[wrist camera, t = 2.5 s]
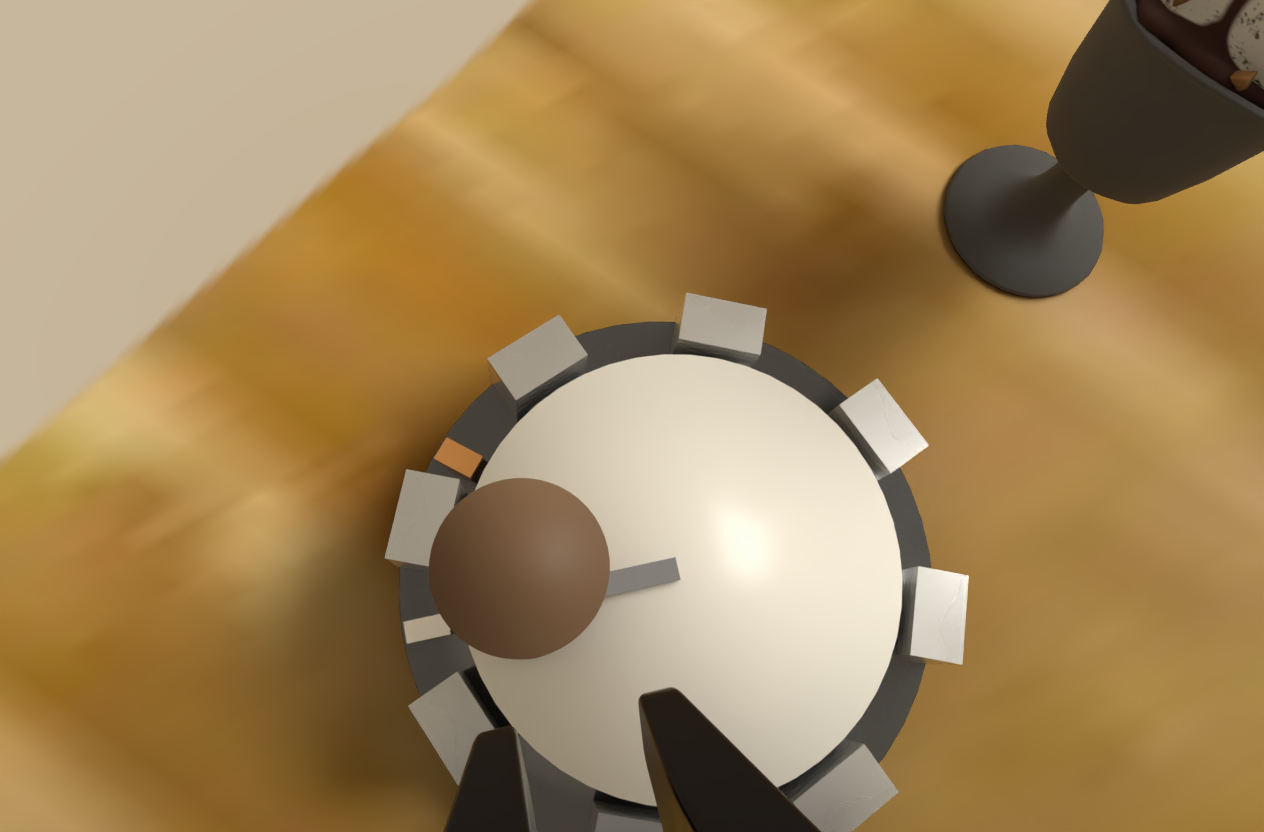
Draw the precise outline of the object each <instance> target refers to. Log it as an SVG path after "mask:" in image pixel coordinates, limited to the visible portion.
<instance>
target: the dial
mask: <svg viewBox="0 0 1264 832" xmlns="http://www.w3.org/2000/svg"><path fill="white" fill-rule="evenodd" d="M429 582H430V588H431V592H432V597H433V599H434V602H435V605H436V607H437V609H438V611H439V613H440V615H441V617H442V618H443V620H444V621H445V623H446V624H447V625H448V627H449V628H450V629H451V630H452V631H453V632H454V633H455V634H456V635H457V636H458V637H459V638H460V639H461V640H463V641H464V642H465V643H467V644H468V646H469V649H470V651H471V654H472V656H473V659H474V662H475V664H476V667H477V669H478V672H479V674H480V677H481V678H482V680H483V682H484V684H485V686H486V687H487V689H488V691H489V693H490V695H491V696H492V698H493V700H494V702H495V704H496V705H497V706H498V708H499V709H500V710H501V712H502V713H503V714H504V716H505V717H506V718H507V720H508V721H509V722H510V724H511V725H512V726H513V727H515V729H516V730H517V732H518V733H519V734H520V735H521V736H522V737H523V738H524V739H525V740H526V741H527V742H528V743H529V744H530V745H531V746H532V747H533V748H534V749H535V750H536V751H537V752H538V753H539V754H541V755H542V756H543V757H544V758H546V759H547V760H548V761H550V762H551V763H552V764H553V765H555V766H556V767H557V768H559V769H560V770H561V771H563V772H565V773H566V774H568V775H570V776H572V777H573V778H575V779H577V780H579V781H580V782H582V783H584V784H586V785H587V786H589V787H592V788H594V789H597V790H599V791H602V792H604V793H607V794H609V795H612V796H614V797H617V798H620V799H624V800H628V801H632V802H636V803H640V804H645V805H649V806H657V804H656V800H655V796H654V792H653V789H652V785H651V781H650V777H649V773H648V769H647V765H646V760H645V755H644V749H643V741H642V732H641V724H640V715H639V705H638V700H639V697H640V696H641V695H642V694H644V693H647V692H651V691H656V690H660V689H664V688H668V687H674V688H677V689H678V690H679V691H681V692H682V693H683V694H684V695H685V696H686V697H687V698H688V699H689V700H690V701H691V702H692V703H693V704H694V705H695V706H696V707H697V708H698V709H699V710H700V711H701V712H702V713H703V714H704V715H705V716H706V717H707V718H708V719H709V720H710V721H711V722H712V723H713V724H714V725H715V726H716V727H717V728H718V729H719V730H720V731H721V732H722V733H723V734H724V735H725V736H726V737H727V738H728V739H729V740H730V741H731V742H732V743H733V744H734V745H735V746H736V747H737V748H738V749H739V750H740V751H741V752H742V753H743V754H744V755H745V756H746V757H747V758H748V759H749V760H750V761H751V762H752V763H753V764H754V765H755V766H756V767H757V768H758V769H759V770H760V771H761V772H762V773H763V774H764V775H765V776H766V777H767V778H768V779H769V780H770V781H771V782H772V783H773V784H774V785H775V786H776V787H779V786H781V785H783V784H785V783H787V782H789V781H791V780H793V779H795V778H797V777H798V776H800V775H801V774H803V773H804V772H805V771H807V770H808V769H810V768H811V767H813V766H814V765H815V764H817V763H818V762H820V761H821V760H822V759H823V758H824V757H825V756H826V755H827V754H829V753H830V752H831V751H832V750H833V749H834V748H835V747H836V746H837V745H838V744H839V743H840V742H841V741H842V740H843V739H844V738H845V737H846V736H847V734H848V733H849V732H850V731H851V729H852V728H853V727H854V726H855V725H856V723H857V722H858V721H859V720H860V718H861V717H862V716H863V714H864V712H865V711H866V709H867V707H868V706H869V704H870V702H871V701H872V699H873V698H874V696H875V694H876V693H877V691H878V688H879V686H880V684H881V682H882V679H883V677H884V675H885V673H886V670H887V668H888V666H889V663H890V659H891V656H892V652H893V649H894V646H895V642H896V639H897V634H898V628H899V621H900V615H901V608H902V569H901V559H900V549H899V545H898V540H897V536H896V531H895V527H894V522H893V519H892V516H891V514H890V511H889V508H888V505H887V502H886V500H885V497H884V494H883V492H882V490H881V488H880V486H879V484H878V482H877V480H876V478H875V476H874V474H873V472H872V470H871V468H870V467H869V465H868V464H867V462H866V461H865V459H864V458H863V456H862V455H861V453H860V452H859V450H858V449H857V447H856V446H855V445H854V443H853V442H852V441H851V440H850V439H849V438H848V436H847V435H846V434H845V433H844V432H843V430H842V429H841V428H840V427H839V426H838V425H837V424H836V423H835V422H834V421H833V420H832V419H831V418H830V417H829V416H828V415H827V414H826V413H824V412H823V411H822V410H821V409H820V408H819V407H818V406H817V405H816V404H814V403H813V402H811V401H810V400H809V399H807V398H806V397H804V396H803V395H802V394H800V393H799V392H798V391H796V390H795V389H793V388H791V387H790V386H788V385H786V384H784V383H782V382H780V381H779V380H777V379H775V378H773V377H771V376H769V375H767V374H764V373H762V372H759V371H757V370H755V369H752V368H750V367H747V366H745V365H741V364H737V363H733V362H730V361H726V360H722V359H718V358H711V357H704V356H696V355H666V354H663V355H655V356H646V357H638V358H633V359H629V360H625V361H621V362H617V363H613V364H609V365H606V366H604V367H601V368H599V369H596V370H594V371H591V372H589V373H586V374H584V375H582V376H580V377H578V378H576V379H574V380H573V381H571V382H569V383H567V384H565V385H563V386H562V387H560V388H558V389H557V390H556V391H554V392H553V393H552V394H550V395H549V396H547V397H546V398H545V399H543V400H542V401H541V402H539V403H538V404H537V405H536V406H535V407H533V408H532V409H531V410H530V411H529V412H528V413H527V414H526V415H525V416H524V417H523V418H522V419H521V420H520V421H519V422H518V423H517V424H516V425H515V426H514V427H513V429H512V430H511V431H510V432H509V434H508V435H507V436H506V437H505V439H504V440H503V441H502V442H501V444H500V445H499V446H498V448H497V449H496V451H495V453H494V454H493V456H492V457H491V459H490V461H489V462H488V464H487V466H486V467H485V469H484V471H483V473H482V475H481V477H480V480H479V482H478V484H477V486H476V489H475V491H473V492H472V493H470V494H469V495H467V496H466V497H465V498H463V499H462V500H461V501H460V502H459V503H458V504H457V505H456V506H455V507H454V508H453V509H452V510H451V511H450V512H449V514H448V515H447V516H446V517H445V519H444V521H443V522H442V524H441V526H440V527H439V529H438V532H437V534H436V536H435V538H434V542H433V545H432V548H431V553H430V559H429Z"/></svg>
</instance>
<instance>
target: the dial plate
mask: <svg viewBox="0 0 1264 832" xmlns="http://www.w3.org/2000/svg"><path fill="white" fill-rule="evenodd" d="M766 313H767V309H765V308H760V307H756V306H751V305H746V304H741V303H736V302H731V301H726V300H721V299H716V298H711V297H706V296H701V295H696V294H692V293H686V295H685V297H684V300H683V302H682V305H681V307H680V309H679V312H678V314H677V317H676V319H675V322H641V323H632V324H623V325H615V326H611V327H607V328H603V329H599V330H595V331H591V332H586V333H583V334H580V335H578V336H574V335H573V333H572V332H571V330H570V329H569V328H568V326H567V325H566V323H565V322H564V321H563V319H562V318H561V316H560V315H557V316H556V317H554V318H553V319H551V320H549V321H548V322H546V323H544V324H543V325H541V326H539V327H538V328H536V329H535V330H533V331H531V332H530V333H528V334H526V335H525V336H523V337H522V338H520V339H518V340H517V341H515V342H513V343H512V344H510V345H508V346H507V347H505V348H504V349H502V350H500V351H499V352H497V353H495V354H494V355H492V356H491V357H489V358H487V360H488V366H489V373H490V379H491V382H492V385H491V386H490V387H489V388H488V389H487V390H486V391H485V392H483V393H482V394H481V395H480V396H479V397H478V398H477V399H476V400H475V401H474V402H473V403H472V404H471V405H470V406H469V407H468V409H467V410H466V411H465V412H464V413H463V415H462V416H461V417H460V418H459V420H458V421H457V422H456V423H455V424H454V426H453V427H452V428H451V429H450V431H449V432H448V434H447V435H446V437H445V439H444V440H443V442H442V443H441V445H440V447H439V448H438V450H437V451H436V453H435V455H434V456H433V458H432V460H431V462H430V464H429V466H428V468H427V470H426V473H424V472H419V471H413V470H408V469H406V473H405V477H404V481H403V485H402V489H401V493H400V497H399V501H398V505H397V509H396V513H395V517H394V521H393V526H392V530H391V534H390V538H389V542H388V546H387V550H386V554H385V559H386V560H388V561H389V562H391V563H392V564H394V565H395V566H397V567H400V583H399V603H400V614H401V625H402V635H403V639H404V643H405V648H406V652H407V657H408V661H409V665H410V670H411V673H412V675H413V678H414V681H415V683H416V686H417V689H418V691H419V694H420V698H419V699H417V700H416V701H414V702H413V703H411V704H410V705H409V706H408V707H409V708H410V710H411V712H412V713H413V715H414V716H415V718H416V720H417V721H418V723H419V724H420V726H421V728H422V729H423V731H424V732H425V734H426V736H427V737H428V739H429V740H430V742H431V744H432V745H433V747H434V748H435V750H436V751H437V753H438V755H439V756H440V758H441V759H442V761H443V763H444V764H445V766H446V767H447V769H448V771H449V772H450V774H451V775H452V777H453V779H454V780H455V782H456V783H457V785H458V786H459V783H460V780H461V777H462V774H463V771H464V768H465V765H466V762H467V759H468V756H469V753H470V750H471V747H472V744H473V742H474V740H475V738H476V736H477V735H478V734H479V733H482V732H485V731H489V730H493V729H497V728H501V727H506V726H512V725H511V724H510V722H509V721H508V720H507V718H506V717H505V716H504V714H503V713H502V712H501V710H500V709H499V708H498V706H497V705H496V704H495V702H494V700H493V698H492V696H491V695H490V693H489V691H488V689H487V687H486V686H485V684H484V682H483V680H482V678H481V677H480V674H479V672H478V669H477V667H476V664H475V662H474V659H473V656H472V654H471V651H470V649H469V646H468V644H467V643H465V642H464V641H463V640H461V639H460V638H459V637H458V636H457V635H456V634H455V633H454V632H453V631H452V630H451V629H450V628H449V627H448V625H447V624H446V623H445V621H444V620H443V618H442V617H441V615H440V613H439V611H438V609H437V607H436V605H435V602H434V599H433V597H432V592H431V588H430V582H429V559H430V553H431V548H432V545H433V542H434V538H435V536H436V534H437V532H438V529H439V527H440V526H441V524H442V522H443V521H444V519H445V517H446V516H447V515H448V514H449V512H450V511H451V510H452V509H453V508H454V507H455V506H456V505H457V504H458V503H459V502H460V501H461V500H462V499H463V498H465V497H466V496H467V495H469V494H470V493H472V492H473V491H475V489H476V486H477V484H478V482H479V480H480V477H481V475H482V473H483V471H484V469H485V467H486V466H487V464H488V462H489V461H490V459H491V457H492V456H493V454H494V453H495V451H496V449H497V448H498V446H499V445H500V444H501V442H502V441H503V440H504V439H505V437H506V436H507V435H508V434H509V432H510V431H511V430H512V429H513V427H514V426H515V425H516V424H517V423H518V422H519V421H520V420H521V419H522V418H523V417H524V416H525V415H526V414H527V413H528V412H529V411H530V410H531V409H532V408H533V407H535V406H536V405H537V404H538V403H539V402H541V401H542V400H543V399H545V398H546V397H547V396H549V395H550V394H552V393H553V392H554V391H556V390H557V389H558V388H560V387H562V386H563V385H565V384H567V383H569V382H571V381H573V380H574V379H576V378H578V377H580V376H582V375H584V374H586V373H589V372H591V371H594V370H596V369H599V368H601V367H604V366H606V365H609V364H613V363H617V362H621V361H625V360H629V359H633V358H638V357H646V356H655V355H663V354H666V355H696V356H704V357H711V358H718V359H722V360H726V361H730V362H733V363H737V364H741V365H745V366H747V367H750V368H752V369H755V370H757V371H759V372H762V373H764V374H767V375H769V376H771V377H773V378H775V379H777V380H779V381H780V382H782V383H784V384H786V385H788V386H790V387H791V388H793V389H795V390H796V391H798V392H799V393H800V394H802V395H803V396H804V397H806V398H807V399H809V400H810V401H811V402H813V403H814V404H816V405H817V406H818V407H819V408H820V409H821V410H822V411H823V412H824V413H826V414H827V415H828V416H829V417H830V418H831V419H832V420H833V421H834V422H835V423H836V424H837V425H838V426H839V427H840V428H841V429H842V430H843V432H844V433H845V434H846V435H847V436H848V438H849V439H850V440H851V441H852V442H853V443H854V445H855V446H856V447H857V449H858V450H859V452H860V453H861V455H862V456H863V458H864V459H865V461H866V462H867V464H868V465H869V467H870V468H871V470H872V472H873V474H874V476H875V478H876V480H877V482H878V484H879V486H880V488H881V490H882V492H883V494H884V497H885V500H886V502H887V505H888V508H889V511H890V514H891V516H892V519H893V522H894V527H895V531H896V536H897V540H898V545H899V549H900V559H901V569H902V608H901V615H900V621H899V628H898V634H897V639H896V642H895V646H894V649H893V652H892V656H891V659H890V663H889V666H888V668H887V670H886V673H885V675H884V677H883V679H882V682H881V684H880V686H879V688H878V691H877V693H876V694H875V696H874V698H873V699H872V701H871V702H870V704H869V706H868V707H867V709H866V711H865V712H864V714H863V716H862V717H861V718H860V720H859V721H858V722H857V723H856V725H855V726H854V727H853V728H852V729H851V731H850V732H849V733H848V734H847V736H846V737H845V738H844V739H843V740H842V741H841V742H840V743H839V744H838V745H837V746H836V747H835V748H834V749H833V750H832V751H831V752H830V753H829V754H827V755H826V756H825V757H824V758H823V759H822V760H821V761H820V762H818V763H817V764H815V765H814V766H813V767H811V768H810V769H808V770H807V771H805V772H804V773H803V774H801V775H800V776H798V777H797V778H795V779H793V780H791V781H789V782H787V783H785V784H783V785H781V786H779V787H777V788H778V789H779V790H780V791H781V792H782V793H783V794H784V795H785V796H786V797H787V798H788V799H789V800H790V801H791V802H792V803H793V804H794V805H795V806H796V807H797V808H798V809H799V810H800V811H801V812H802V813H803V814H804V815H805V816H806V817H807V818H808V819H809V820H810V821H811V822H812V823H813V824H814V825H815V826H816V827H817V828H818V829H819V830H820V831H821V832H852V831H853V830H854V829H855V828H857V827H858V826H859V825H860V824H861V823H863V822H864V821H865V820H866V819H867V818H869V817H870V816H871V815H872V814H873V813H874V812H876V811H877V810H878V809H879V808H880V807H882V806H883V805H884V804H885V803H886V802H888V801H889V800H890V799H891V798H892V797H893V796H895V795H896V794H897V793H898V790H897V789H896V788H895V786H894V785H893V783H892V782H891V781H890V779H889V778H888V776H887V775H886V774H885V772H884V771H883V769H882V768H881V767H880V765H879V763H880V761H881V760H882V759H883V758H884V756H885V755H886V753H887V752H888V750H889V748H890V747H891V745H892V743H893V742H894V740H895V738H896V737H897V735H898V733H899V732H900V730H901V728H902V726H903V725H904V723H905V720H906V718H907V716H908V713H909V711H910V709H911V706H912V704H913V702H914V699H915V697H916V695H917V692H918V689H919V685H920V682H921V678H922V675H923V671H924V668H925V664H954V665H962V660H963V647H964V633H965V619H966V605H967V591H968V577H969V576H968V575H962V574H957V573H952V572H946V571H941V570H936V569H931V563H930V554H929V549H928V545H927V541H926V536H925V532H924V528H923V523H922V519H921V517H920V514H919V511H918V508H917V506H916V503H915V500H914V497H913V495H912V492H911V489H910V487H909V485H908V483H907V481H906V479H905V477H904V475H903V473H902V471H901V469H900V466H902V465H903V464H904V463H906V462H907V461H908V460H910V459H911V458H913V457H914V456H915V455H917V454H918V453H919V452H921V451H922V450H923V449H925V448H926V447H928V446H929V445H928V444H927V442H926V441H925V440H924V438H923V437H922V436H921V434H920V433H919V432H918V431H917V429H916V428H915V427H914V425H913V424H912V423H911V421H910V420H909V419H908V418H907V416H906V415H905V414H904V412H903V411H902V410H901V408H900V407H899V406H898V404H897V403H896V402H895V401H894V399H893V398H892V397H891V395H890V394H889V393H888V391H887V390H886V389H885V388H884V386H883V385H882V384H881V382H880V381H879V380H878V378H877V379H875V380H874V381H872V382H871V383H870V384H868V385H867V386H865V387H864V388H862V389H861V390H860V391H858V392H857V393H855V394H854V395H852V396H851V397H850V398H847V397H846V396H845V395H844V394H843V393H841V392H840V391H839V390H838V389H837V388H836V387H835V386H834V385H833V384H832V383H831V382H829V381H828V380H827V379H825V378H824V377H822V376H821V375H820V374H818V373H817V372H815V371H814V370H813V369H811V368H810V367H808V366H807V365H806V364H804V363H803V362H801V361H799V360H797V359H795V358H794V357H792V356H790V355H788V354H786V353H785V352H783V351H781V350H779V349H777V348H775V347H773V346H771V345H768V344H766V343H763V342H762V341H763V334H764V327H765V320H766ZM518 736H519V741H520V746H521V750H522V755H523V759H524V764H525V769H526V773H527V778H528V783H529V788H530V793H531V799H532V805H533V811H534V816H535V822H536V828H537V831H538V832H663V828H662V824H661V820H660V816H659V812H658V808H657V806H649V805H645V804H640V803H636V802H632V801H628V800H624V799H620V798H617V797H614V796H612V795H609V794H607V793H604V792H602V791H599V790H597V789H594V788H592V787H589V786H587V785H586V784H584V783H582V782H580V781H579V780H577V779H575V778H573V777H572V776H570V775H568V774H566V773H565V772H563V771H561V770H560V769H559V768H557V767H556V766H555V765H553V764H552V763H551V762H550V761H548V760H547V759H546V758H544V757H543V756H542V755H541V754H539V753H538V752H537V751H536V750H535V749H534V748H533V747H532V746H531V745H530V744H529V743H528V742H527V741H526V740H525V739H524V738H523V737H522V736H521V735H520V734H519V733H518Z"/></svg>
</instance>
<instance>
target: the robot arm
mask: <svg viewBox="0 0 1264 832" xmlns="http://www.w3.org/2000/svg"><path fill="white" fill-rule="evenodd" d="M638 705H639V715H640V724H641V732H642V741H643V749H644V755H645V760H646V765H647V769H648V773H649V777H650V781H651V785H652V789H653V792H654V796H655V800H656V804H657V808H658V812H659V816H660V820H661V824H662V828H663V832H821V831H820V830H819V829H818V828H817V827H816V826H815V825H814V824H813V823H812V822H811V821H810V820H809V819H808V818H807V817H806V816H805V815H804V814H803V813H802V812H801V811H800V810H799V809H798V808H797V807H796V806H795V805H794V804H793V803H792V802H791V801H790V800H789V799H788V798H787V797H786V796H785V795H784V794H783V793H782V792H781V791H780V790H779V789H778V788H777V787H776V786H775V785H774V784H773V783H772V782H771V781H770V780H769V779H768V778H767V777H766V776H765V775H764V774H763V773H762V772H761V771H760V770H759V769H758V768H757V767H756V766H755V765H754V764H753V763H752V762H751V761H750V760H749V759H748V758H747V757H746V756H745V755H744V754H743V753H742V752H741V751H740V750H739V749H738V748H737V747H736V746H735V745H734V744H733V743H732V742H731V741H730V740H729V739H728V738H727V737H726V736H725V735H724V734H723V733H722V732H721V731H720V730H719V729H718V728H717V727H716V726H715V725H714V724H713V723H712V722H711V721H710V720H709V719H708V718H707V717H706V716H705V715H704V714H703V713H702V712H701V711H700V710H699V709H698V708H697V707H696V706H695V705H694V704H693V703H692V702H691V701H690V700H689V699H688V698H687V697H686V696H685V695H684V694H683V693H682V692H681V691H679V690H678V689H677V688H674V687H668V688H664V689H660V690H656V691H651V692H647V693H644V694H642V695H641V696H640V697H639V700H638ZM443 832H537V828H536V822H535V816H534V811H533V805H532V799H531V793H530V788H529V783H528V778H527V773H526V769H525V764H524V759H523V755H522V750H521V746H520V741H519V736H518V732H517V730H516V729H515V727H513V726H506V727H501V728H497V729H493V730H489V731H485V732H482V733H479V734H478V735H477V736H476V738H475V740H474V742H473V744H472V747H471V750H470V753H469V756H468V759H467V762H466V765H465V768H464V771H463V774H462V777H461V780H460V783H459V786H458V789H457V792H456V795H455V798H454V801H453V804H452V807H451V810H450V813H449V816H448V819H447V822H446V825H445V828H444V831H443Z"/></svg>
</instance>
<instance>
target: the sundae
mask: <svg viewBox="0 0 1264 832" xmlns="http://www.w3.org/2000/svg"><path fill="white" fill-rule="evenodd" d="M1046 127H1047V134H1048V137H1049V140H1050V142H1051V145H1052V148H1053V151H1054V154H1055V156H1056V158H1055V157H1053V156H1051V155H1050V154H1048V153H1046V152H1043V151H1040V150H1037V149H1034V148H1031V147H1025V146H1020V145H1007V146H999V147H994V148H990V149H986V150H983V151H981V152H980V153H978V154H976V155H974V156H972V157H971V158H970V159H968V160H967V161H966V162H964V163H963V164H962V165H961V166H960V167H959V169H958V170H957V172H956V173H955V174H954V176H953V178H952V180H951V182H950V184H949V186H948V188H947V192H946V198H945V215H944V217H945V221H946V225H947V229H948V233H949V235H950V238H951V240H952V243H953V246H954V248H955V249H956V250H957V252H958V253H959V255H960V256H961V257H962V259H963V260H964V261H965V262H966V264H967V265H968V266H969V267H970V268H971V269H972V270H973V271H974V273H976V274H977V275H979V276H980V277H981V278H983V279H984V280H986V281H987V282H989V283H990V284H992V285H994V286H996V287H998V288H999V289H1001V290H1003V291H1006V292H1010V293H1014V294H1017V295H1022V296H1029V297H1044V296H1052V295H1056V294H1060V293H1064V292H1066V291H1068V290H1070V289H1071V288H1073V287H1075V286H1076V285H1078V284H1079V283H1080V282H1081V281H1083V280H1084V279H1085V278H1086V277H1087V276H1089V274H1090V273H1091V271H1092V269H1093V268H1094V266H1095V265H1096V263H1097V260H1098V258H1099V256H1100V254H1101V251H1102V243H1103V217H1102V214H1101V210H1100V207H1099V204H1098V202H1097V200H1096V198H1095V195H1094V193H1096V194H1099V195H1101V196H1104V197H1107V198H1110V199H1113V200H1116V201H1120V202H1123V203H1127V204H1141V203H1147V202H1153V201H1158V200H1160V199H1163V198H1165V197H1168V196H1170V195H1173V194H1175V193H1178V192H1180V191H1182V190H1185V189H1187V188H1190V187H1192V186H1195V185H1197V184H1200V183H1202V182H1205V181H1207V180H1209V179H1211V178H1213V177H1215V176H1217V175H1219V174H1221V173H1222V172H1224V171H1226V170H1228V169H1230V168H1232V167H1234V166H1236V165H1238V164H1240V163H1242V162H1243V161H1245V160H1247V159H1249V158H1251V157H1253V156H1255V155H1257V154H1259V153H1261V152H1263V151H1264V0H1110V1H1109V2H1108V4H1107V5H1106V7H1105V8H1104V10H1103V11H1102V13H1101V14H1100V16H1099V17H1098V19H1097V20H1096V22H1095V23H1094V25H1093V26H1092V28H1091V29H1090V31H1089V32H1088V34H1087V35H1086V37H1085V38H1084V40H1083V41H1082V43H1081V44H1080V46H1079V48H1078V49H1077V51H1076V52H1075V54H1074V55H1073V57H1072V59H1071V61H1070V63H1069V65H1068V67H1067V69H1066V71H1065V73H1064V75H1063V77H1062V79H1061V81H1060V83H1059V85H1058V87H1057V89H1056V91H1055V93H1054V95H1053V97H1052V99H1051V101H1050V103H1049V109H1048V114H1047V122H1046ZM1093 192H1094V193H1093Z"/></svg>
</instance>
